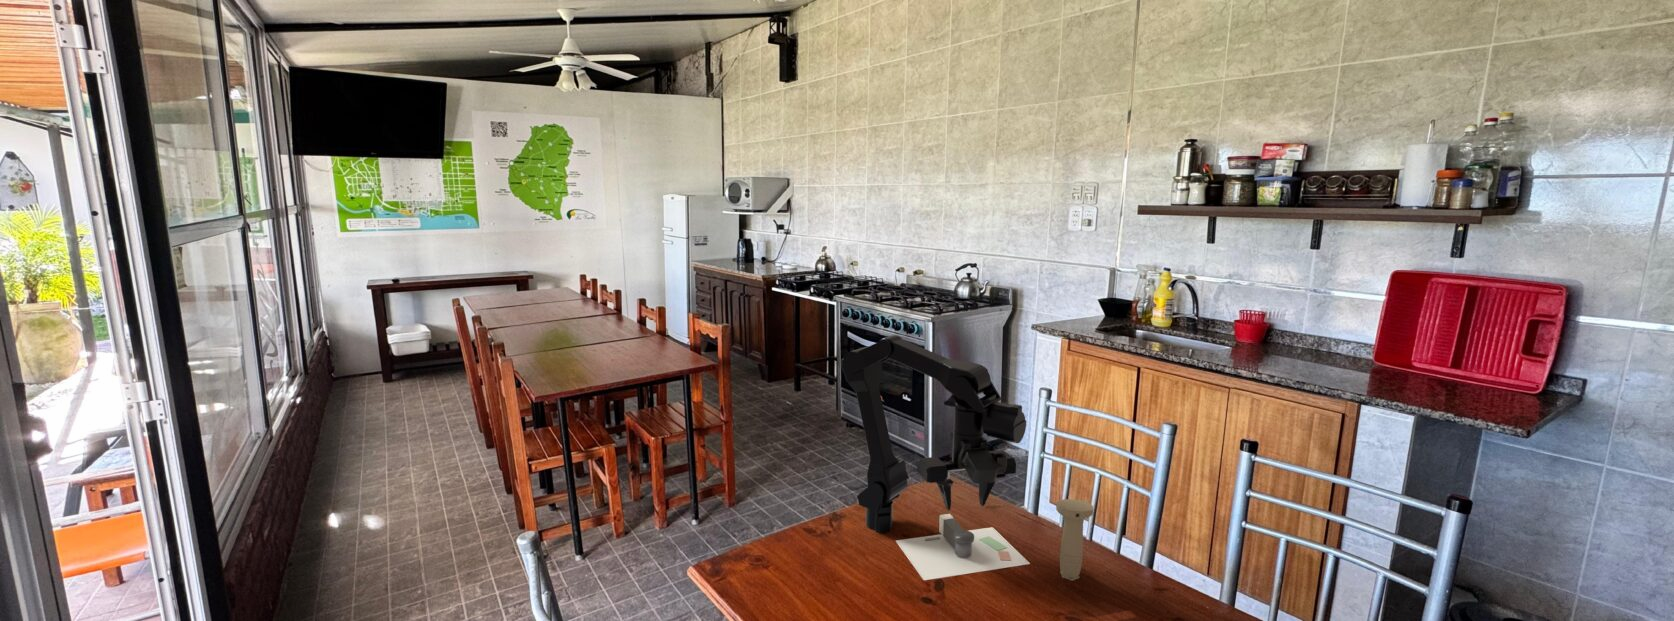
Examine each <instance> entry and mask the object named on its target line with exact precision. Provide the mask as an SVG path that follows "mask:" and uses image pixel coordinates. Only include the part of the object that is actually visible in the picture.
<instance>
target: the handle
mask: <svg viewBox="0 0 1674 621" xmlns="http://www.w3.org/2000/svg"><path fill="white" fill-rule="evenodd" d="M1055 508H1056V511H1057V513H1058V514H1060V516H1063V527H1062V528H1063V529H1062V535H1061V543H1060V550H1059V568H1060V572H1059V573H1060V575H1061V578H1063V579H1067V580H1069V581H1075V580H1079V579H1080V573H1081V570H1082V566H1083V557H1084V556H1083V554H1084V537H1083V536H1084V521H1085V519H1086V518H1090V517H1092V516H1093V514H1094V506H1093V505H1092V504H1091V503H1090V502H1088V501H1085V500H1081V499H1073V498H1071V499H1070V498H1069V499H1068V498H1067V499H1066V498H1065V499H1059V500H1057V501H1056V507H1055Z"/></svg>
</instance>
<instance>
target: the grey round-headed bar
mask: <svg viewBox="0 0 1674 621" xmlns="http://www.w3.org/2000/svg"><path fill="white" fill-rule="evenodd" d="M938 526H939V528H938V531H939V533H940V534H942V535H943V536H944V537H945V538H946V539H947V541H948V542H949V543H950V544H951V545H952V546H953V548H954V549H955V554H956V555H958V556H960V557H969V556H971V551H972V542H973V541H974V534H973V533H972V532H970V531H969V530H965V529H964V528H963V527H962V526H961V525H960V524H959V522H958V521H956V519H955V518H954V517H953V515H951V513H947V514H946V513H945V514H940V515H939V525H938Z"/></svg>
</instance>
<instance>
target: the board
mask: <svg viewBox="0 0 1674 621" xmlns="http://www.w3.org/2000/svg"><path fill="white" fill-rule="evenodd" d="M968 531H970V532H972V533H973V534H974V541H973V542H972V551H971V556H969V557H960V556H958V555H956V554H955V549H954V548H953V546H952V545H951V544H950V543H949V542H948V541H947V539H946V538H945V537H944V536H943V535H942V534H941V533H940V534H934V535H928V536H927V535H926V536H920V537H913V538H905V539H898V540H895V542H896V544H897V545H898V546H899V548H900V550H901V551H902V552H903V554H904V556H906V557H907V559H908V560H909V562H910V564H911V565H912V566H913V568H914V569H915V570H916V572H917V573H918V575H919V576H920V578H921V579H922V580H923V581H928V580H937V579H943V578H949V577H955V576H961V575H966V574H974V573H981V572H988V571H995V570H1000V569H1006V568H1007V569H1008V568H1014V567H1019V566H1026V565H1031V563H1030V562H1029V561H1028V560H1027V559H1026V558H1025V557H1024V555H1022V554H1021V553H1020V552H1019V551H1018V550H1017V549H1016V548H1015V547H1013V546H1012V544H1010V542H1009V541H1007V540H1006V538H1004V537H1003V536H1002V535H1001V534H1000V532H998V531H997V530H996V529H995V528H994V527H992V526H991V527H984V528H977V529H969V530H968Z"/></svg>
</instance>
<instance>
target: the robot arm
mask: <svg viewBox="0 0 1674 621" xmlns="http://www.w3.org/2000/svg"><path fill="white" fill-rule="evenodd" d="M889 359H890V360H893V361H894V362H898V363H899V364H902V365H904V366H906V367H908V368H911V369H913V370H915V371H917V372H919V373H921V374H924V375H926V376H928V377H930V378H932V379H934V380H936V381H938V382H939V383H940V384H941V386H942V387H943V388H944V390H946V391H947V392H949V393H950V394H951V395H950V397H949V398H948V399H946V400H945V401H944V402H943V405H944V406H947V407H953V408H954V409H953V412H954V413H953V431H950V433H949V434H950V435H949V437H950V438H951V439H952V451H949V458H951V461H945V462H943V461H942V460H941V459H940V458H938V457H937V456H930V457H922V458H919V460H918V461H917V463H916V472H917V474H918V475H920V476H921V478H923V479H924V481H925V482H926V483H930V484H933V483H936V485H937V487H938V489H939V492H940V495H941V498H942V500H943V502H944V506H945V509H946V510H948V511H951V507H952V486H953V484H954V481H953V480H952V479H951V478H950V477H951V475H950V474H951V473H956V472H965V471H966V472H967V473H966V474H967V475H968V477H969V479H970V481H971V482H972V483H973V484H978V498H979V499H978V500H979V504H980V506H982V507H984V506H985V504H986V502H987V500H988V498H989V496H990V494H991V491H992V489H993V488H994V485H995V484H996V482H997V481H999V480H1001V479H1004V478H1006V476H1007V475H1012V474H1016V473H1017V471H1018V462H1017V459H1016V458H1015V457H1013V456H1012V455H1011V454H1009V453H1008V452H1006V451H1005V450H1004V449H998V450H989V448H988V440H987V438H985V437H984V436H985V435H984V434H986V436H987V437H989V438H993V439H994V438H995V439H998V440H1002V441H1006V442H1010V443H1014V444H1020V443H1021V442H1022V440H1023V438H1024V435H1025V433H1026V430H1027V429H1026V427H1027V420H1026V416H1025V414H1024V412H1023V406H1022V405H1021V404H1020V405H1019V404H1017V403H1016V404H1013V403H1012V404H1010V403H1005V402H1001V401H1002V397H1001V395H1000V394H999V391H998V390H997V389H996V387H995V385H994V383H993V381H992V380H991V375H990V374H989V369H987V368H986V367H985V366H984V365H982V364H980V363H975V362H970V361H966V360H957V359H950V358H947V357H945V356H942V355H939V354H938V353H935V352H933V351H931V350H929V349H926V348H923V347H921V346H920V345H916V344H914V343H912V342H909V341H907V340H905V339H903V338H902V337H901V336H900V335H896V334H895V335H890V336H886V337H884V338H880V340H879V341H877V342H875V343H873V344H871V345H869V346H864V347H861V348H857V349H854V350H850V351H848V352H846V353H845V354H844V356H843V357H842V359H841V362H840V363H841V369H842V372H843V374H844V377H845V380H846V382H847V383H848V385H849V386H850V387H851V388H852V389H853V391H854V392H855V394H856V399H857V403H858V407H859V413H860V417H861V423H862V426H863V432H864V436H865V442H866V445H867V450H868V455H869V464H868V469H867V472H866V482H867V487H866V488H865V489H864V490H862V491H861V492H859V493H858V494H857V495H856V497H857V502H858V504H859V506H860V507H862V508H865V526H866V527H867V528H868V529H869V530H872V531H874V532H875V533H878V534H886V533H890V532H891V530H892V527H893V510H894V507H893V506H894V500H896V499H899V498H900V495H901V494H902V493H903V492H904V491H905V490H906V488H907V487H908V480H909V479H910V477H909V475H908V473H907V467H906V462H905V460H900V461H899V459H898V458H897V457H896V456H895V455H894V452H893V448H892V444H891V439H890V434H889V430H888V424H887V420H886V415H885V410H884V407H883V401H882V397H881V392H880V385H881V380H882V375H883V365H882V363H884V362H886V361H888V360H889ZM981 394H983V395H984V396H982V397H979V396H980V395H981Z"/></svg>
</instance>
